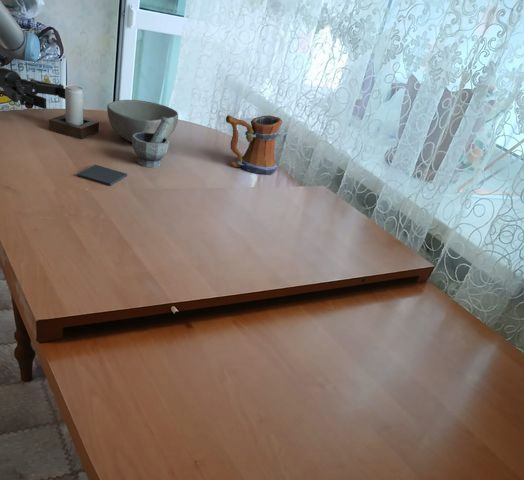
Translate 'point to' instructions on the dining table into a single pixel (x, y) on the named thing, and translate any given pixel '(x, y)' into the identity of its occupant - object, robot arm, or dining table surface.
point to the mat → (102, 175)
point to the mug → (256, 144)
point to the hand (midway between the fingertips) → (62, 100)
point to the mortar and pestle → (152, 145)
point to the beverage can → (74, 104)
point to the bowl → (139, 117)
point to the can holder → (74, 127)
